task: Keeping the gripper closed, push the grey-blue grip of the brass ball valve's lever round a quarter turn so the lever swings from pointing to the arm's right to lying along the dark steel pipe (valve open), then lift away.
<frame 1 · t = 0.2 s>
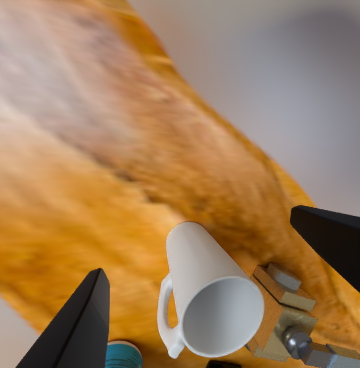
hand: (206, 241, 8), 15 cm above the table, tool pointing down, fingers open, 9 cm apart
mug: (179, 249, 24), on the table
lever: (324, 352, 21), point 8 cm above the table, hinge at 0.0°
beverage bottle: (114, 360, 25), on the table
valve: (258, 295, 28), on the table
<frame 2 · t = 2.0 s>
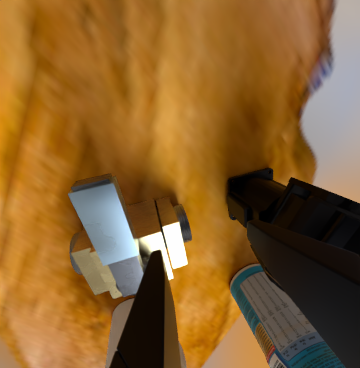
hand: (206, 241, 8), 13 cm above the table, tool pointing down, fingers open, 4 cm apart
mug: (143, 308, 27), on the table
lever: (121, 245, 12), point 8 cm above the table, hinge at 0.0°
beverage bottle: (247, 278, 31), on the table
valve: (135, 225, 21), on the table
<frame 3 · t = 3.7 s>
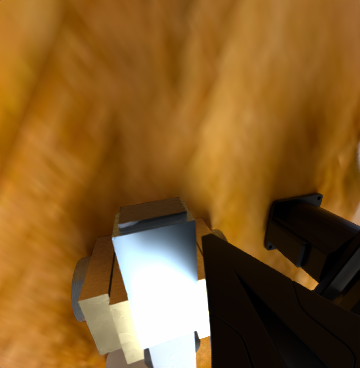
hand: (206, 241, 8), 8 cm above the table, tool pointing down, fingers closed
mug: (145, 348, 22), on the table
lever: (166, 306, 8), point 8 cm above the table, hinge at 1.1°, touching gripper
valve: (155, 250, 17), on the table
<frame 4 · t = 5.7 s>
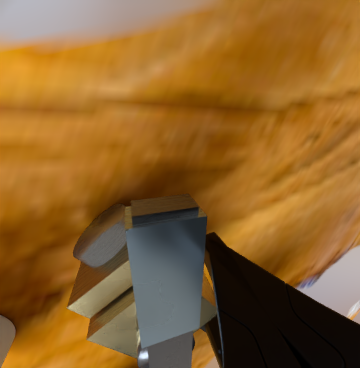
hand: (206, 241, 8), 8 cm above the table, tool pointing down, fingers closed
lever: (165, 305, 8), point 8 cm above the table, hinge at 55.5°, touching gripper
valve: (149, 251, 16), on the table
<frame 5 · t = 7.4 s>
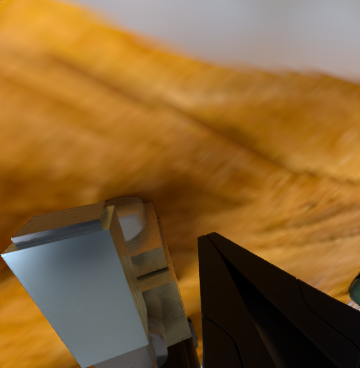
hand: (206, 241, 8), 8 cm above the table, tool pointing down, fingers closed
lever: (118, 318, 7), point 8 cm above the table, hinge at 85.8°
valve: (136, 252, 16), on the table
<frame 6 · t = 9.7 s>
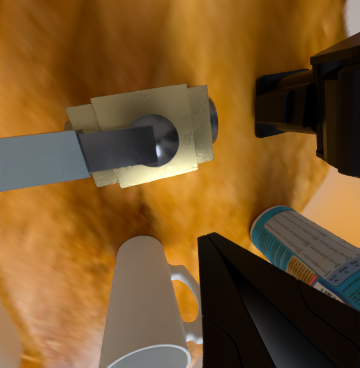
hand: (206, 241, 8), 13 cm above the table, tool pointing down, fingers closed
mug: (152, 252, 24), on the table
lever: (84, 151, 10), point 8 cm above the table, hinge at 85.9°
beverage bottle: (269, 225, 28), on the table
valve: (146, 131, 18), on the table
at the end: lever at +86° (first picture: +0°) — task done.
